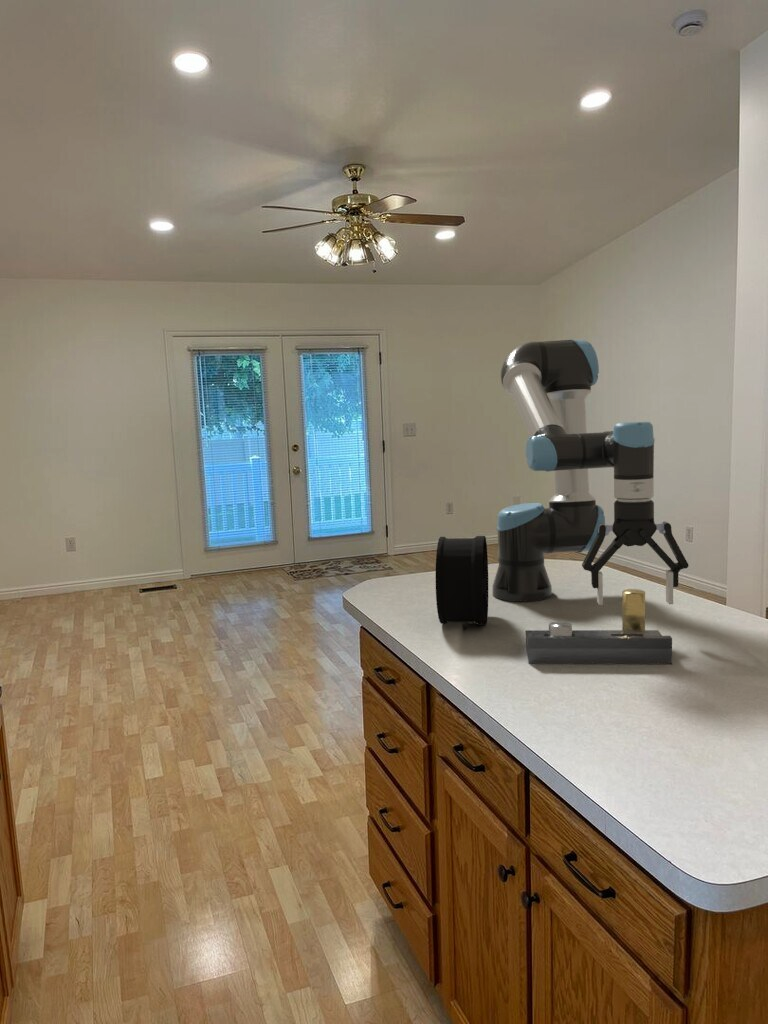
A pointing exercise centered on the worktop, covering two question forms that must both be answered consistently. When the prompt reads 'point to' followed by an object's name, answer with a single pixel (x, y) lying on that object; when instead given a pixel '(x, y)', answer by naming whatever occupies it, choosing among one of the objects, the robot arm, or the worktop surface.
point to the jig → (599, 647)
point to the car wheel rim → (462, 580)
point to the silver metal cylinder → (560, 628)
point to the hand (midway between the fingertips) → (634, 603)
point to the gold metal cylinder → (633, 609)
